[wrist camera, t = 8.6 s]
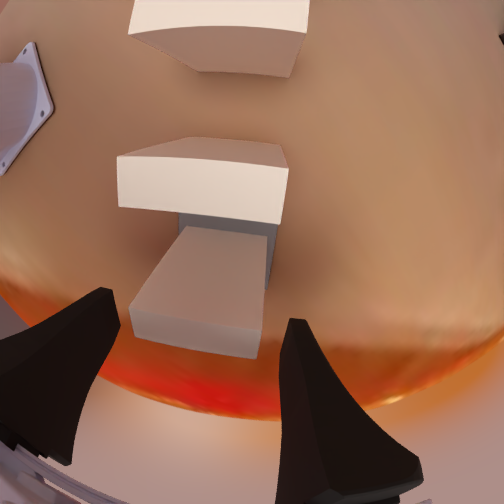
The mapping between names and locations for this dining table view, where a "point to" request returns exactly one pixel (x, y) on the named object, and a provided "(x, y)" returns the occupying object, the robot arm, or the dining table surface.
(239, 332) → the tile
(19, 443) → the robot arm
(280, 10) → the tile
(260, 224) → the end marker
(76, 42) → the dining table surface
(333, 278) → the dining table surface
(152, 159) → the tile
